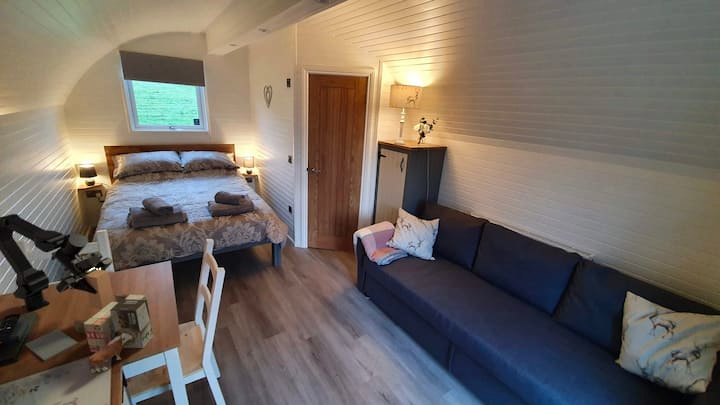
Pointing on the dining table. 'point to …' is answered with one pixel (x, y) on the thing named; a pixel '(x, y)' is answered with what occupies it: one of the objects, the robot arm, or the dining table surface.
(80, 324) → the beige u-shaped block
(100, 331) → the printed cardboard box
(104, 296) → the tan block
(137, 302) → the coffee box
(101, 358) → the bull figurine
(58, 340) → the slate mat
